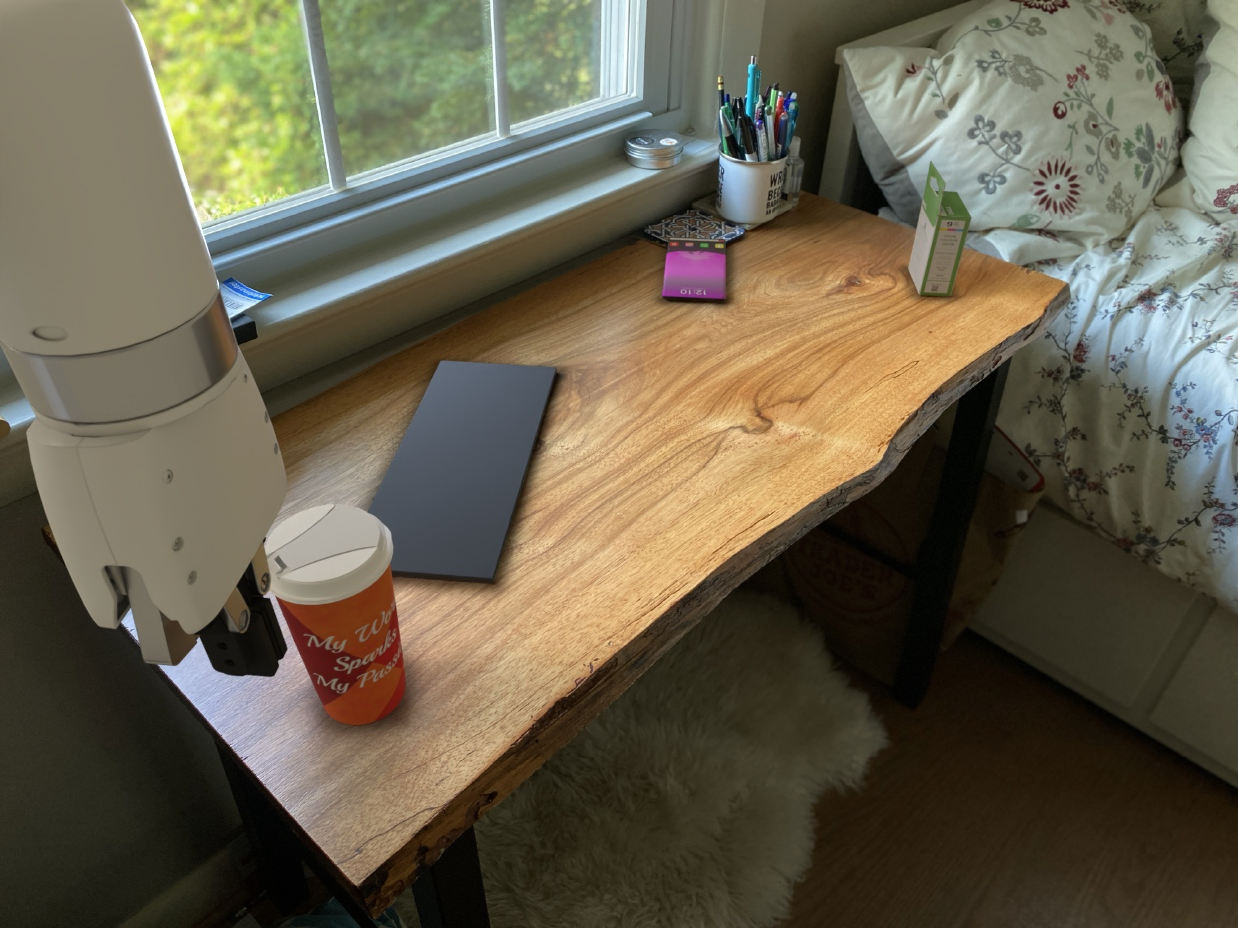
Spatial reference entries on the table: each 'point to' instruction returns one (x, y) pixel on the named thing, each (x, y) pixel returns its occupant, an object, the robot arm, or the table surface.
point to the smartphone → (695, 269)
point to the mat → (462, 470)
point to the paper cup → (341, 608)
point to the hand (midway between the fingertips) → (252, 661)
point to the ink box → (938, 239)
